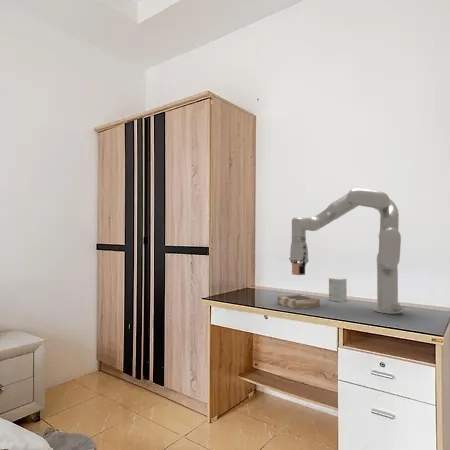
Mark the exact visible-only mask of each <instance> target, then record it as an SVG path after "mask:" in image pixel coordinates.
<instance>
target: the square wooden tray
mask: <svg viewBox="0 0 450 450" xmlns="http://www.w3.org/2000/svg"><path fill="white" fill-rule="evenodd" d="M277 305H281V306H284V307H288V308H290V309H294V310H300V309H309V308H310V309H311V308H316V307H317V308H318V307H320V305H321V304H320V298H318V297H313V296H310V295H309V296H308V295H305V294H299V293H298V294H290V295H281V296H279V295H278V296H277Z"/></svg>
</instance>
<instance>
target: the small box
mask: <svg viewBox="0 0 450 450" xmlns="http://www.w3.org/2000/svg"><path fill="white" fill-rule="evenodd" d="M347 285H348V284H347V278H342V277H330V278H329V277H328V301H332V302H333V301H334V302H338V303H344V302H346V301H347V300H348V299H347V293H348V292H347Z"/></svg>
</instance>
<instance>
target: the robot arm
mask: <svg viewBox="0 0 450 450" xmlns="http://www.w3.org/2000/svg"><path fill="white" fill-rule="evenodd" d="M359 206H360V207H366V208H372V209H374V210H377V212H379V215H380V218H379V220H380V221H379V233H378V253H377V255H376V284H377V285H376V292H377V293H376V296H377V297H376V303H377V305H376V306H375V307H374V308H373V311H375V312H376V313H381V314H386V315H387V314H388V315H389V314H390V315H396V314H397V315H398V314H401V313H402V312H404V311H405V307H404V306H401V303H399V293H398V292H399V288H398V287H399V284H398V283H399V282H398V281H399V276H398V275H399V272H398V271H399V269H398V265H399V263H400V259H401V244H402V242H401V241H402V237H401V233H400V231H399V225H400V224H399V222H400V221H399V220H400V218H399V209H398V207H397V205H396V204H395V201H393V200H392V199H390V197H389V195H388V194H387V193H386V192H384V191H380V190H379V191H378V190H372V189H366V188H358V187H354V188H351V189H350V190H349V191H348V193H345V194H344V195H342V196H340V198H338V199H336V200H335V201H332V202H331V203H330V204H329V205H328V206H327V207H326V208H325V209H324V210H323V211H321V212H319V213H318V214H316V215H314V216H309V217H293V218H292V219H291V242H290V252H289V253H290V254H289V255H290V256H289V258H288V260H289V261H290V263H291V264H292V263H300V274H304V273H305V274H306V265H307V263H308V262H309V249H308V243H307V242H306V241H307V238H306V234H307V233H306V232H307V231H309V232H310V231H311V232H317V231H319V230H320V229H322V228H324V227H325V226H327V225H329V224H331V222H333V221H335V220H338V219H340V218H341V217H342V216H344V215H346V214H347V213H349V212H350V211H352V210H354V209H356V208H357V207H359Z"/></svg>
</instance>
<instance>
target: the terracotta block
mask: <svg viewBox="0 0 450 450" xmlns="http://www.w3.org/2000/svg"><path fill="white" fill-rule="evenodd" d="M291 275H294V276H306V272H305V273H304V274H300V262H297V263H291Z"/></svg>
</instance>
